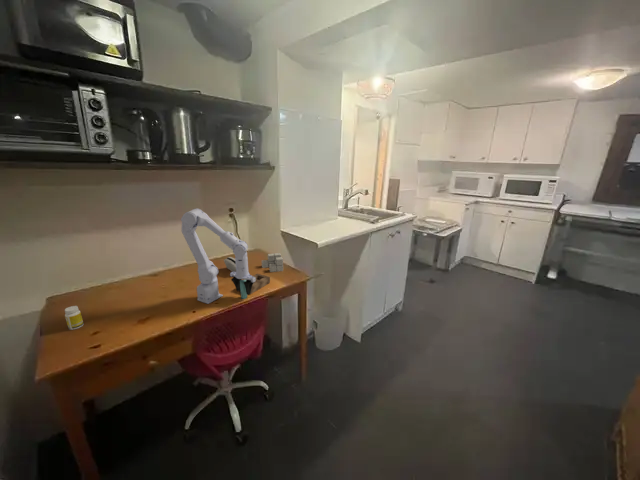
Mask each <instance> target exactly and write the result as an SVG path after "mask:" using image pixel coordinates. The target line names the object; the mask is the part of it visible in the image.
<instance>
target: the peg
mask: <svg viewBox="0 0 640 480" xmlns="http://www.w3.org/2000/svg"><path fill="white" fill-rule="evenodd" d="M245 281H246V280H245V279H242V280H240V290H241V291H240V298H241V300H246V299H248V295H247V294H246V288H245V285H244V282H245Z"/></svg>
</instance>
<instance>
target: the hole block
mask: <svg viewBox="0 0 640 480" xmlns="http://www.w3.org/2000/svg"><path fill="white" fill-rule="evenodd" d="M252 276H253V277H255V278H256V281H255V282H254V283H253V285H252V288H251V293H250V294H249V295H251V294H253V293H255V292H257V291H258V290H260V289H262V288H264V287H265V286H267V285H268V284H270V283H271V276H268V275H264V274H261V273H255V274H254V275H252ZM246 281H247V280H246ZM239 292H241V290H240V291H239Z"/></svg>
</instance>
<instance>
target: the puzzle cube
mask: <svg viewBox="0 0 640 480" xmlns="http://www.w3.org/2000/svg"><path fill="white" fill-rule="evenodd" d="M261 268H262V269H265V268H269V272H270V273H276V272H284V258H283V257H282V254H281V252H276V253H267V259H262V260H261Z"/></svg>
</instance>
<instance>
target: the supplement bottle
mask: <svg viewBox="0 0 640 480" xmlns="http://www.w3.org/2000/svg"><path fill="white" fill-rule="evenodd" d="M64 313H65V314H64V318H65V320H66V321H65V322H66V324H67V327H68V330H71V331H72V330H73V331H74V330H77V329H81V328H82V327H83V326H84V321H83V317H82V312H81V310H79V307H78V305H72V306H69V307H66V308H65V309H64Z"/></svg>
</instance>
